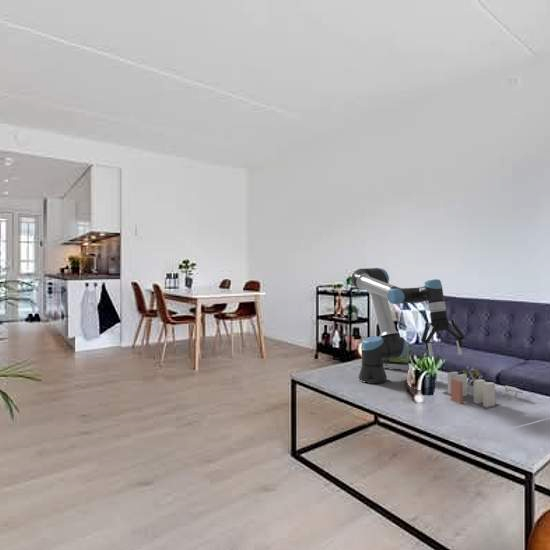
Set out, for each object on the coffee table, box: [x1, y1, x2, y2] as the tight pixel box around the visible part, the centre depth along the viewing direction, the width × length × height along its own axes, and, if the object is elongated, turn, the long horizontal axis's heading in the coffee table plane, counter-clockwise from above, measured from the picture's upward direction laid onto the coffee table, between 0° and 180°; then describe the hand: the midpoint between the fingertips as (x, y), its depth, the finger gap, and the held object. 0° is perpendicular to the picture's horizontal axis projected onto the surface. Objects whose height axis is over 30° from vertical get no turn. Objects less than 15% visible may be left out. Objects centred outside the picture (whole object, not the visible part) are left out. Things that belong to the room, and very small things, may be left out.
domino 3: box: [450, 379, 464, 404], centre depth 185 cm, size 2×5×10 cm, turn 24°
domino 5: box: [483, 381, 496, 407], centre depth 179 cm, size 2×5×10 cm, turn 114°
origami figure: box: [501, 385, 526, 402], centre depth 188 cm, size 12×8×5 cm
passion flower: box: [460, 365, 483, 387], centre depth 211 cm, size 11×11×12 cm
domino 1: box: [447, 371, 459, 394], centre depth 197 cm, size 2×5×10 cm, turn 114°
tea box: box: [383, 343, 410, 371], centre depth 246 cm, size 15×10×15 cm, turn 66°
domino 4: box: [473, 378, 486, 404], centre depth 184 cm, size 2×5×10 cm, turn 114°
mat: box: [441, 390, 502, 410], centre depth 188 cm, size 25×10×1 cm, turn 24°
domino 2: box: [456, 373, 468, 396], centre depth 193 cm, size 2×5×10 cm, turn 114°
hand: (445, 355), depth 191 cm, fingers open, 13 cm apart
